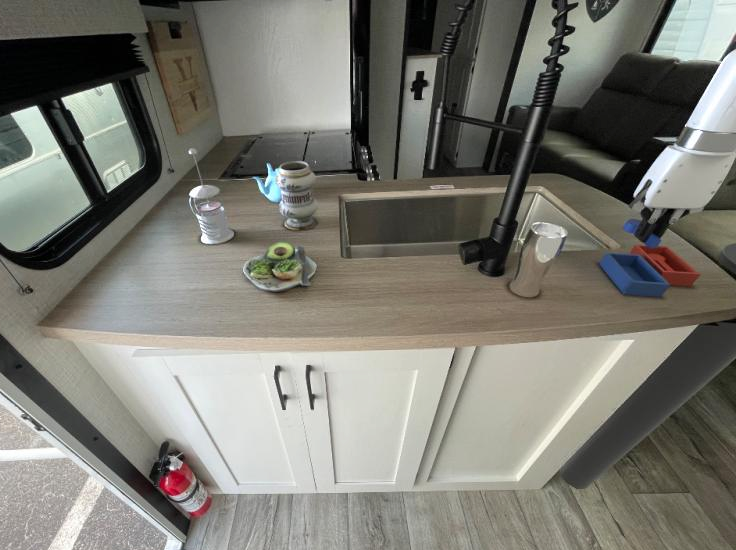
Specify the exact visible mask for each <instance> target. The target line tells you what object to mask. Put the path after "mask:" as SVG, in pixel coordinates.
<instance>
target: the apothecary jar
mask: <svg viewBox="0 0 736 550" xmlns="http://www.w3.org/2000/svg"><path fill="white" fill-rule="evenodd" d="M279 168H280V171H279V174H278V175H277V176H276V179H275V181H276V184H277V186H278V187H279V188H281V195H282V201H281V202H279V205H278V210H279V212H280V213H281V215H282V216H284V217H285V218H287V219H286V220H285V221H284V227H286V228H287V229H289V230H292V231H302V230H309V229H311V228H313V227H314V226H315V225H316V219H315V218H313V216H314V214H316V212H317V211H318V209H319V203H318V201H317V199H316V198H315V197H314V189H313V186H314V185H315V183H316V181H317V177H316V174H315V173H314V172H313V171H312V170H311V169H310V165H309V163H307V162H306V161H304V160H303V161H302V160H296V161H295V160H294V161H293V160H292V161H288V162H284V163H282V164H280V165H279Z"/></svg>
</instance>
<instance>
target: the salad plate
mask: <svg viewBox="0 0 736 550" xmlns="http://www.w3.org/2000/svg"><path fill="white" fill-rule="evenodd" d="M305 253H306V252H305V248H304V247H303V246H301V245H298V246H297V247H296V248H295V246H294V245H293V244H291V243H289V242H286V241H279V242H276V243H274V244H272V245H270V246H269V247H268V248H267V249H266V253H264V254H261V255H258V256H254V257H252V258H251V259H248V260H247V261H246V262H245V263H244V264H243V267H242V271H243V275H244V276H245V278H247V279H248V280H249V281H250V282H251V283H252V284H254V286H256V287H258V289H260V290H262V291H266V292H277V293H280V292H287V291H289V290H292V289H294V288H296V287H297V286H300V285H301V286H302V287H309V286H310V279H311V278H312V277H313V276H314V275H315V272H316V270H317V264H316V262H315V261H314V260H312V259H311V258H310V257H308V256H307V255H306V254H305Z"/></svg>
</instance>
